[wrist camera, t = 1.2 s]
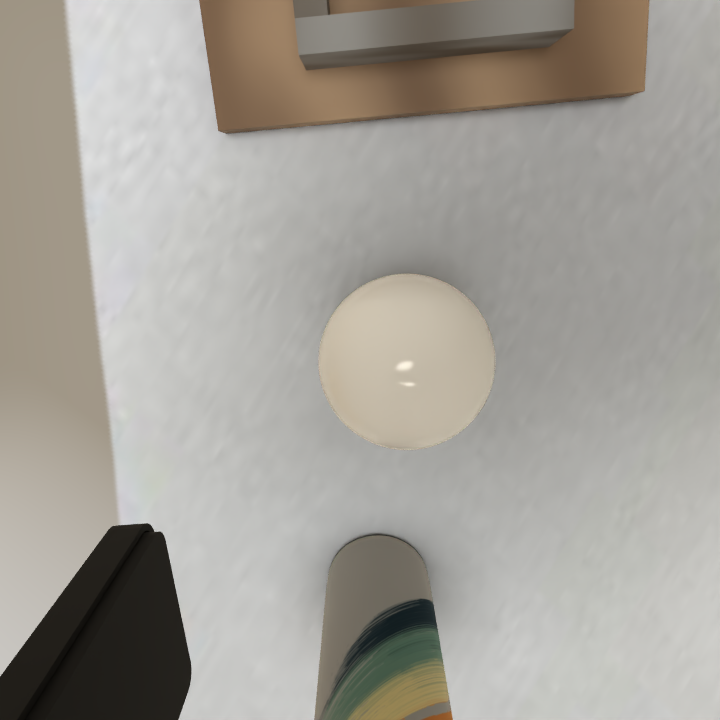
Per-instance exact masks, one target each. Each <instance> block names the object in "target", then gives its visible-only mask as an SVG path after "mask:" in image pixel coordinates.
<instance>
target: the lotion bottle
mask: <svg viewBox="0 0 720 720" xmlns="http://www.w3.org/2000/svg"><path fill="white" fill-rule="evenodd" d="M314 720H453V719H452V713H451V707H450V701H449V695H448V689H447V683H446V677H445V671H444V665H443V659H442V653H441V647H440V641H439V635H438V629H437V623H436V617H435V611H434V605H433V599H432V594H431V588H430V583H429V578H428V574H427V570H426V567H425V564H424V562H423V560H422V558H421V557H420V555H419V554H418V553H417V552H416V551H415V550H414V549H413V548H412V547H411V546H410V545H408V544H407V543H405V542H403V541H401V540H399V539H396V538H393V537H389V536H381V535H375V536H367V537H363V538H360V539H357V540H355V541H353V542H351V543H349V544H348V545H346V546H345V547H344V548H343V549H341V550H340V551H339V553H338V554H337V555H336V557H335V558H334V560H333V562H332V564H331V567H330V570H329V574H328V580H327V588H326V597H325V608H324V619H323V630H322V641H321V652H320V663H319V674H318V685H317V696H316V707H315V718H314Z"/></svg>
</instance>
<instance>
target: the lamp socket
mask: <svg viewBox="0 0 720 720" xmlns="http://www.w3.org/2000/svg"><path fill="white" fill-rule="evenodd" d="M199 1H200V8H201V15H202V22H203V29H204V36H205V42H206V49H207V56H208V63H209V70H210V77H211V83H212V90H213V97H214V104H215V111H216V118H217V124H218V131H221V132H223V133H226V134H227V133H238V132H249V131H259V130H270V129H281V128H292V127H302V126H313V125H324V124H334V123H345V122H356V121H367V120H377V119H388V118H399V117H409V116H420V115H431V114H442V113H452V112H463V111H474V110H485V109H495V108H506V107H517V106H527V105H538V104H549V103H560V102H570V101H581V100H592V99H603V98H613V97H624V96H631V95H634V94H637V93H640V92H643V91H645V73H646V53H647V33H648V14H649V0H199Z"/></svg>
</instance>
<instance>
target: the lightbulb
mask: <svg viewBox="0 0 720 720" xmlns="http://www.w3.org/2000/svg"><path fill="white" fill-rule="evenodd" d="M318 366H319V376H320V381H321V385H322V388H323V391H324V394H325V396H326V398H327V400H328V402H329V404H330V406H331V408H332V409H333V411H334V412H335V414H336V415H337V416H338V418H339V419H340V420H341V421H342V422H343V423H344V424H345V425H346V426H347V427H348V428H349V429H350V430H352V431H353V432H354V433H356V434H357V435H359V436H360V437H362V438H363V439H365V440H367V441H369V442H371V443H374V444H376V445H379V446H382V447H386V448H391V449H397V450H417V449H423V448H428V447H432V446H435V445H438V444H440V443H443V442H445V441H447V440H449V439H451V438H452V437H454V436H455V435H457V434H458V433H460V432H461V431H462V430H464V429H465V428H466V427H467V426H468V425H469V424H470V423H471V422H472V421H473V420H474V419H475V417H476V416H477V415H478V414H479V412H480V411H481V409H482V408H483V406H484V404H485V402H486V400H487V398H488V396H489V394H490V391H491V388H492V384H493V380H494V375H495V349H494V344H493V339H492V336H491V333H490V330H489V328H488V326H487V323H486V321H485V320H484V318H483V316H482V314H481V313H480V311H479V310H478V309H477V307H476V306H475V305H474V304H473V303H472V302H471V301H470V300H469V299H468V298H467V297H466V296H465V295H464V294H463V293H462V292H460V291H459V290H458V289H456V288H455V287H453V286H451V285H449V284H448V283H446V282H444V281H441V280H439V279H436V278H433V277H429V276H425V275H420V274H394V275H389V276H384V277H381V278H378V279H375V280H373V281H370V282H368V283H366V284H364V285H363V286H361V287H359V288H358V289H356V290H355V291H353V292H352V293H351V294H350V295H349V296H347V297H346V298H345V299H344V300H343V301H342V302H341V304H340V305H339V306H338V307H337V308H336V310H335V311H334V313H333V314H332V316H331V317H330V319H329V321H328V323H327V325H326V327H325V330H324V332H323V335H322V339H321V343H320V348H319V358H318Z"/></svg>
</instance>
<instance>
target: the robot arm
mask: <svg viewBox="0 0 720 720" xmlns="http://www.w3.org/2000/svg"><path fill="white" fill-rule="evenodd" d="M190 681H191V661H190V656H189V652H188V647H187V642H186V637H185V632H184V627H183V623H182V618H181V613H180V608H179V603H178V598H177V594H176V589H175V584H174V579H173V574H172V569H171V565H170V560H169V555H168V550H167V545H166V541H165V537H164V535H163V533H162V532H154V529H153V528H152V526H151V525H150V524H148V523H147V524H133V525H118V526H112V527H111V528H110V529H109V530H108V531H107V533H106V534H105V536H104V537H103V538H102V540H101V541H100V542H99V544H98V545H97V546H96V548H95V549H94V551H93V552H92V553H91V554H90V556H89V557H88V558H87V560H86V561H85V563H84V564H83V565H82V567H81V568H80V569H79V571H78V572H77V573H76V575H75V576H74V578H73V579H72V580H71V581H70V583H69V584H68V586H67V587H66V588H65V590H64V591H63V592H62V594H61V595H60V596H59V598H58V599H57V601H56V602H55V603H54V605H53V606H52V607H51V609H50V610H49V611H48V613H47V614H46V615H45V617H44V618H43V619H42V621H41V622H40V624H39V625H38V626H37V628H36V629H35V630H34V632H33V633H32V634H31V636H30V637H29V638H28V640H27V641H26V642H25V644H24V645H23V647H22V648H21V649H20V651H19V652H18V653H17V655H16V656H15V657H14V659H13V660H12V661H11V663H10V664H9V666H8V667H7V668H6V670H5V671H4V672H3V674H2V675H1V676H0V720H178V719H179V716H180V713H181V710H182V708H183V705H184V702H185V699H186V696H187V693H188V690H189V686H190Z"/></svg>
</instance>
